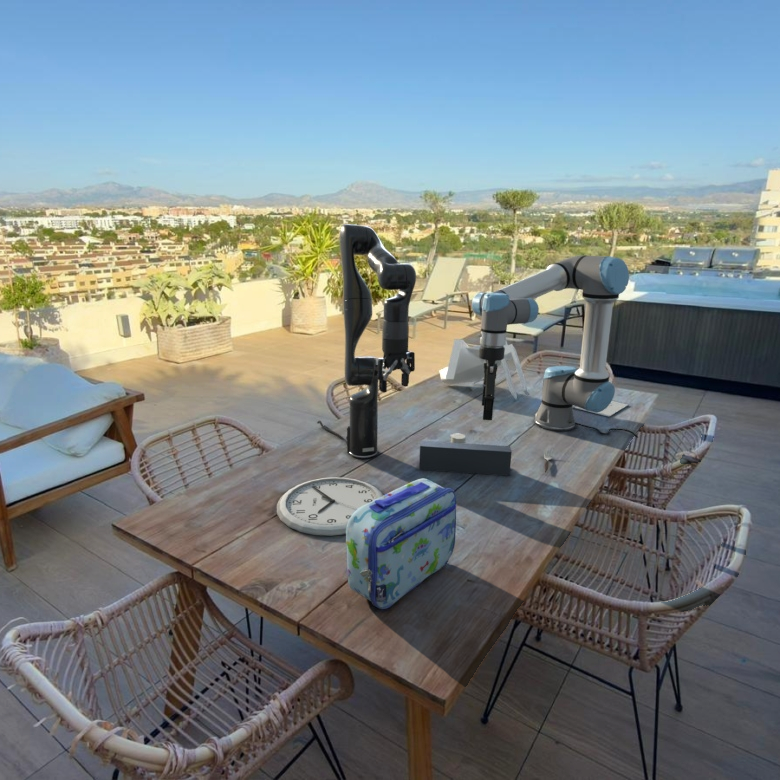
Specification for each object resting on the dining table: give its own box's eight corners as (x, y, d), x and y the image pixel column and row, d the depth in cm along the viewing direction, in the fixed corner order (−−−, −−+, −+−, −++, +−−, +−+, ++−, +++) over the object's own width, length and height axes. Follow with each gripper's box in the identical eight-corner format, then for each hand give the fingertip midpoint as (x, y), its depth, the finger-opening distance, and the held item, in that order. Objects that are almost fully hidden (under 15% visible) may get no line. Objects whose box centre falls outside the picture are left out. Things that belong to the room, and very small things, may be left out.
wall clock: (392, 527, 129) (268, 531, 127) (391, 533, 130) (269, 537, 127) (383, 473, 158) (282, 475, 155) (383, 478, 158) (282, 480, 156)
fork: (540, 473, 163) (541, 467, 163) (544, 453, 178) (545, 448, 177) (549, 474, 162) (550, 468, 162) (552, 454, 177) (553, 449, 176)
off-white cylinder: (464, 449, 180) (465, 433, 178) (464, 455, 175) (465, 439, 174) (450, 448, 181) (450, 432, 179) (449, 454, 176) (450, 438, 174)
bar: (508, 469, 166) (510, 446, 164) (509, 475, 162) (511, 451, 159) (420, 463, 169) (421, 440, 167) (419, 469, 165) (420, 446, 162)
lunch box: (375, 622, 100) (376, 527, 94) (339, 595, 108) (338, 505, 101) (459, 565, 118) (465, 481, 112) (424, 545, 125) (427, 465, 119)
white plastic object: (461, 429, 252) (437, 405, 227) (444, 352, 274) (420, 323, 250) (535, 404, 240) (518, 377, 215) (510, 326, 262) (492, 293, 237)
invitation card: (608, 416, 214) (573, 407, 224) (608, 416, 214) (573, 408, 224) (628, 404, 229) (594, 396, 238) (628, 405, 229) (594, 397, 238)
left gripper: (404, 329, 157) (402, 381, 162) (367, 336, 148) (367, 390, 153) (422, 334, 151) (420, 387, 157) (385, 341, 142) (384, 397, 148)
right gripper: (478, 336, 169) (474, 399, 175) (480, 354, 145) (474, 425, 152) (502, 338, 168) (496, 400, 174) (507, 355, 144) (501, 427, 151)
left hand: (394, 388), depth 155 cm, fingers open, 8 cm apart
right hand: (486, 412), depth 163 cm, fingers open, 13 cm apart
